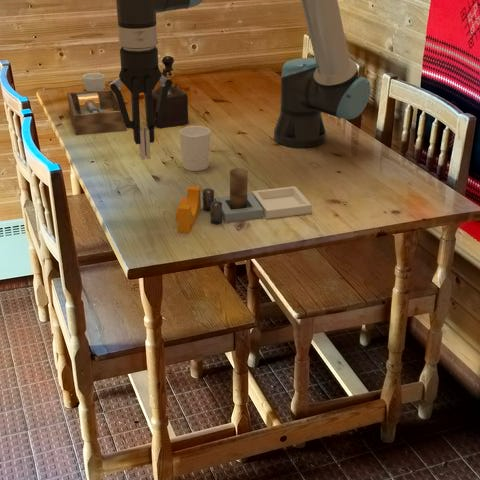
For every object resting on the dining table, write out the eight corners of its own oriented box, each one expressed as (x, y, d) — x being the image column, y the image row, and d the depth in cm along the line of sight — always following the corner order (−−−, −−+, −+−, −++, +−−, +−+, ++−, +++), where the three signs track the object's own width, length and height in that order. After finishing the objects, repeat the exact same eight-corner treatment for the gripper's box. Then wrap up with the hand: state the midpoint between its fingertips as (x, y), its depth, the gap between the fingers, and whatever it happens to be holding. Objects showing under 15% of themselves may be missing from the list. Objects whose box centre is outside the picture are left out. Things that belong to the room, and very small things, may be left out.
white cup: (184, 173, 189) (183, 137, 184) (178, 162, 196) (177, 127, 191) (213, 170, 191) (213, 134, 186) (206, 159, 198) (206, 124, 193)
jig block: (251, 203, 174) (251, 193, 173) (262, 219, 166) (263, 209, 165) (214, 207, 172) (214, 197, 170) (225, 224, 164) (225, 214, 163)
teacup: (107, 93, 250) (106, 78, 247) (85, 95, 248) (83, 79, 245) (103, 85, 258) (102, 70, 255) (81, 87, 256) (80, 72, 253)
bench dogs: (212, 207, 172) (212, 187, 169) (223, 225, 164) (223, 205, 161) (201, 208, 171) (201, 189, 169) (212, 226, 163) (211, 206, 161)
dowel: (244, 206, 171) (244, 167, 166) (249, 214, 168) (249, 174, 163) (227, 208, 170) (227, 169, 165) (232, 216, 167) (232, 176, 162)
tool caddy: (115, 107, 237) (114, 89, 234) (126, 130, 217) (125, 111, 215) (69, 111, 233) (67, 92, 230) (75, 135, 214) (73, 115, 211)
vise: (71, 113, 231) (68, 93, 228) (103, 110, 235) (101, 89, 231) (80, 132, 217) (78, 110, 213) (115, 128, 220) (113, 106, 217)
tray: (294, 195, 178) (295, 186, 176) (311, 215, 168) (311, 205, 167) (251, 201, 175) (252, 191, 174) (266, 221, 166) (266, 210, 164)
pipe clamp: (182, 210, 171) (181, 185, 168) (200, 211, 170) (200, 186, 167) (170, 233, 160) (169, 207, 157) (189, 235, 160) (188, 209, 157)
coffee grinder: (191, 124, 223) (189, 65, 214) (157, 128, 219) (154, 69, 210) (174, 109, 235) (172, 53, 227) (141, 113, 231) (138, 57, 223)
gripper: (107, 53, 140) (116, 166, 151) (175, 48, 143) (179, 160, 154) (102, 44, 146) (111, 153, 157) (167, 40, 149) (172, 147, 161)
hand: (145, 156), depth 156 cm, fingers closed
